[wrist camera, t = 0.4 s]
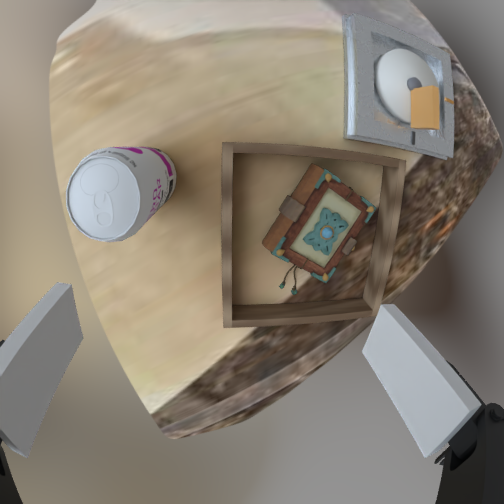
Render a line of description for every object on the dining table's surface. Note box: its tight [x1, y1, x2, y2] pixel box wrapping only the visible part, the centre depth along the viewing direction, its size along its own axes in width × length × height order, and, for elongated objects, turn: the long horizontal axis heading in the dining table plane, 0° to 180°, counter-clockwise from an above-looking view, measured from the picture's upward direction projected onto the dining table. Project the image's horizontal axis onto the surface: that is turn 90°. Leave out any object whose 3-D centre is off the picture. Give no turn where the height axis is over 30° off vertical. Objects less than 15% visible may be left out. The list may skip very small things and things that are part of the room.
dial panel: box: [342, 13, 454, 160], centre depth 29 cm, size 20×20×3 cm
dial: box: [374, 49, 440, 130], centre depth 27 cm, size 13×12×7 cm
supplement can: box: [66, 147, 177, 242], centre depth 26 cm, size 8×8×15 cm
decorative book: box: [262, 164, 376, 295], centre depth 36 cm, size 13×18×5 cm
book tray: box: [222, 142, 406, 328], centre depth 36 cm, size 24×24×4 cm
